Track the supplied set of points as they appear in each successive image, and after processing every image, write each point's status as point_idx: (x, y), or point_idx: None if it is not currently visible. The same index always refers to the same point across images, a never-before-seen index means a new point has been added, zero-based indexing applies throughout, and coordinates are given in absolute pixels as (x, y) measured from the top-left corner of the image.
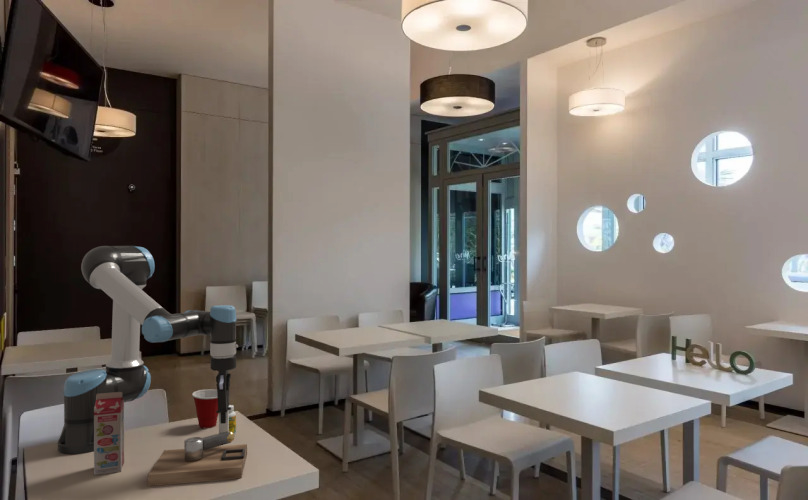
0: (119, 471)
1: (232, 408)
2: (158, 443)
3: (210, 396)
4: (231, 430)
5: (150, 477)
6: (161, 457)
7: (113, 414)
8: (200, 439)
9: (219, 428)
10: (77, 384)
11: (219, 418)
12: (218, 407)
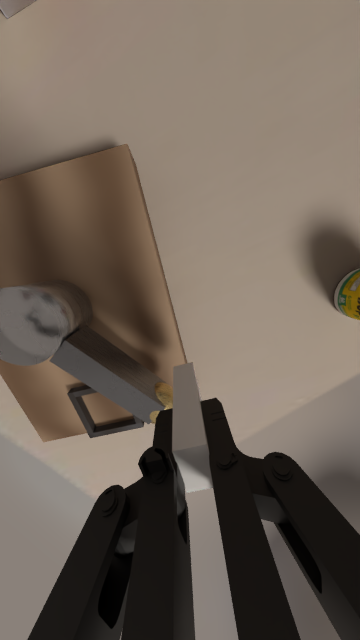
0: (2, 11)
1: None
2: (315, 24)
3: None
4: (352, 314)
5: None
6: (52, 175)
7: None
8: (31, 355)
9: (173, 381)
10: None
11: (173, 419)
12: (71, 558)
